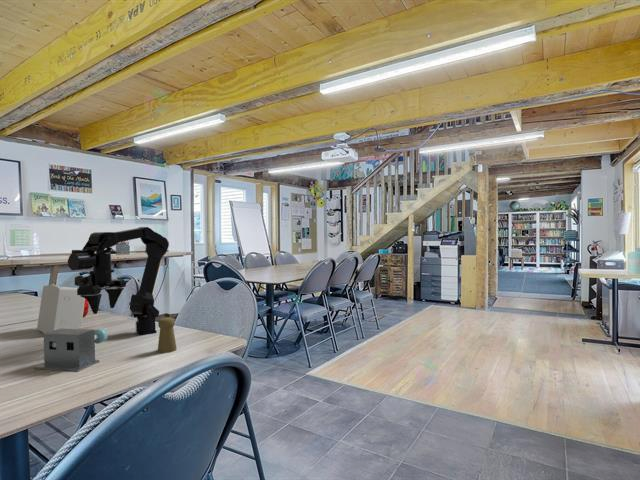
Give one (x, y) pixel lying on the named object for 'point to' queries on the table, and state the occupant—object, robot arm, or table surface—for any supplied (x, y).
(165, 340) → the olive tapered figurine
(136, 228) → the robot arm
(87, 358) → the mount
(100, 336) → the popped knob
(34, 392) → the table surface
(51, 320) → the electrical switch box
